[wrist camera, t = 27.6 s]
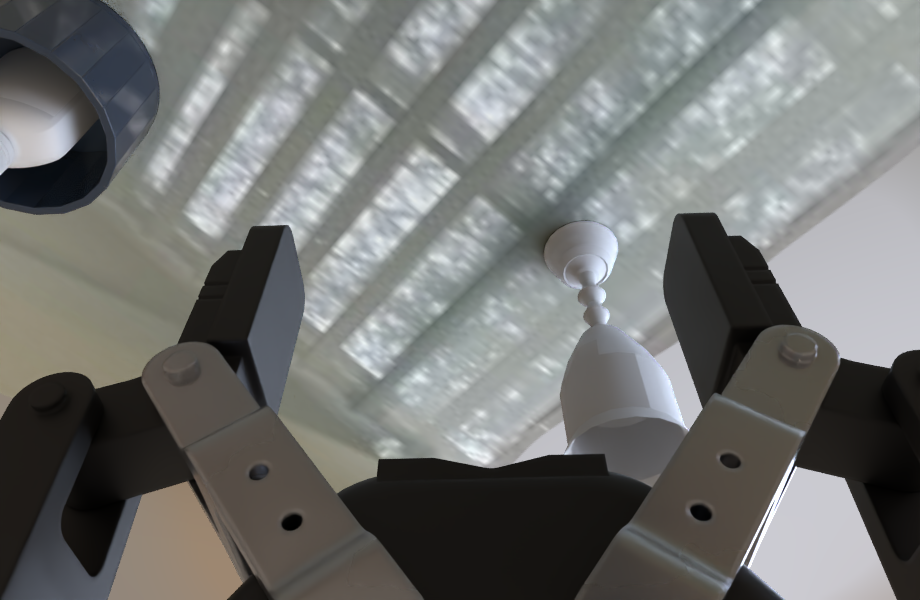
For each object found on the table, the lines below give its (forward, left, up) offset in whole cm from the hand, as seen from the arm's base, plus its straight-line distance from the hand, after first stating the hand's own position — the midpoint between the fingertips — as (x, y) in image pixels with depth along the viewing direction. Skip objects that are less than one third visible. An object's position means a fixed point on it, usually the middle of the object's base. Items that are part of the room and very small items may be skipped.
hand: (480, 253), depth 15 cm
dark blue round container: (+6, -23, -28) cm, 36 cm away
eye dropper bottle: (+6, -23, -27) cm, 36 cm away
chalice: (+20, +7, -28) cm, 35 cm away
